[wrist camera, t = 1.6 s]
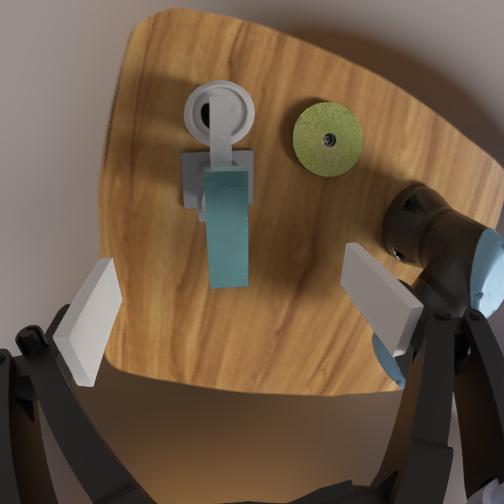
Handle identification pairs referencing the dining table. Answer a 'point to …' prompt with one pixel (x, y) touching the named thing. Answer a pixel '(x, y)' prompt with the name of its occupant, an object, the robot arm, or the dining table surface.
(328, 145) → the mat
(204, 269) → the dining table surface
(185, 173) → the grey pedestal post
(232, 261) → the teal grip latch lever
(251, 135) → the dining table surface
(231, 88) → the can
